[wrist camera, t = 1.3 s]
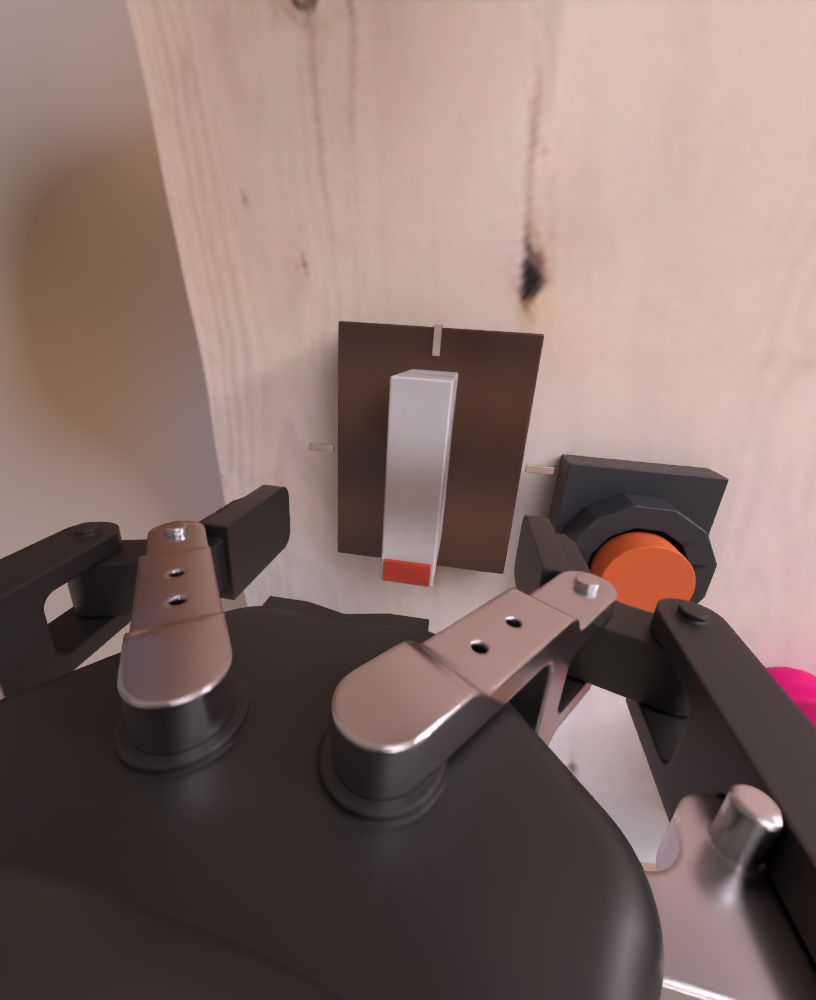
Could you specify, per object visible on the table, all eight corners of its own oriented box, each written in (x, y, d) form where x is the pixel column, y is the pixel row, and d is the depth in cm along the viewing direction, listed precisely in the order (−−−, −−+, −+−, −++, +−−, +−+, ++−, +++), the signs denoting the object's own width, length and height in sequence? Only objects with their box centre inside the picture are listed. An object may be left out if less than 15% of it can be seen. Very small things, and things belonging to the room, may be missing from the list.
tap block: (327, 320, 23) (306, 316, 20) (566, 336, 22) (581, 334, 19) (328, 530, 28) (311, 551, 25) (525, 555, 26) (531, 581, 23)
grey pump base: (561, 454, 24) (578, 473, 20) (708, 468, 23) (754, 491, 19) (532, 598, 27) (541, 638, 24) (658, 616, 26) (688, 660, 23)
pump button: (600, 526, 21) (610, 541, 20) (690, 536, 21) (708, 552, 19) (582, 597, 23) (590, 616, 21) (665, 609, 22) (680, 629, 21)
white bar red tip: (410, 368, 20) (388, 376, 15) (458, 372, 20) (453, 381, 15) (400, 530, 24) (378, 583, 18) (441, 536, 23) (431, 591, 18)
